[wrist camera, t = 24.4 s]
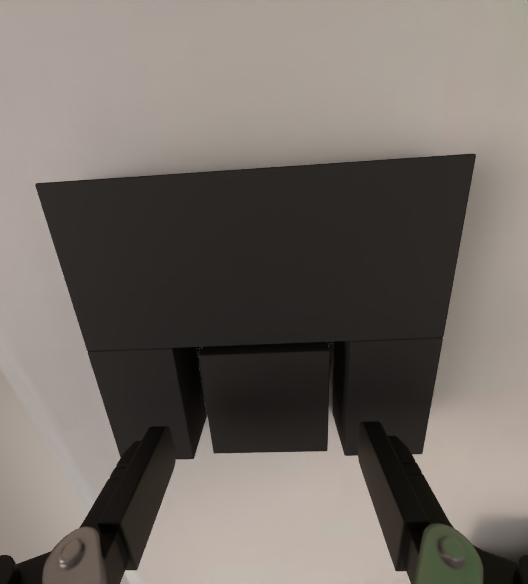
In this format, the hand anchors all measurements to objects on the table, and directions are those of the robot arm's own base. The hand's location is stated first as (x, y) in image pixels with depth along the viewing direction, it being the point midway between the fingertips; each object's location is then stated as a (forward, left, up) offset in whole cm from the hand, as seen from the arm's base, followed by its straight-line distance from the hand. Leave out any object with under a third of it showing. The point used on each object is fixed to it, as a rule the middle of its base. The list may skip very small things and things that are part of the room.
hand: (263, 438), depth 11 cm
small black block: (0, 0, -5) cm, 5 cm away
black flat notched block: (0, +4, -5) cm, 6 cm away
